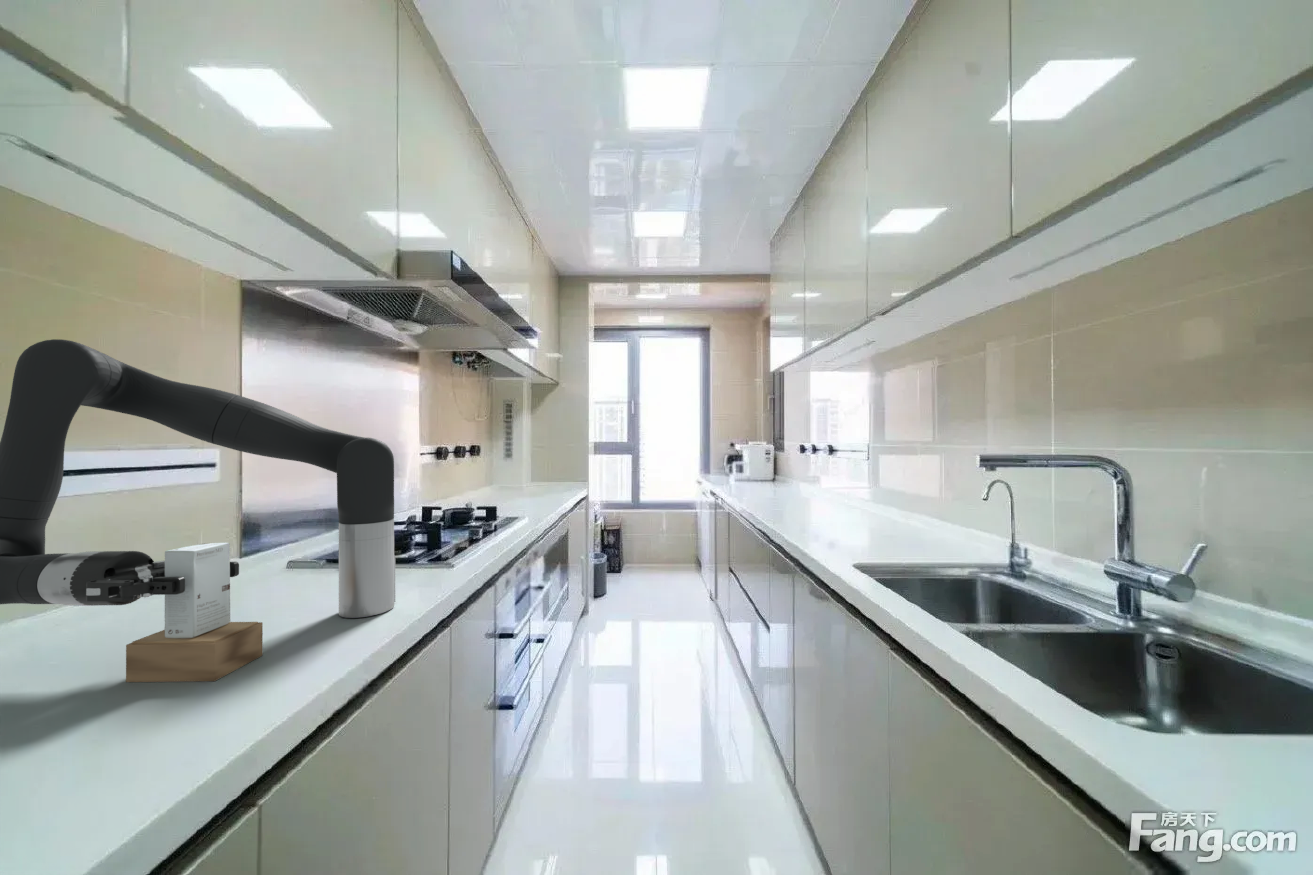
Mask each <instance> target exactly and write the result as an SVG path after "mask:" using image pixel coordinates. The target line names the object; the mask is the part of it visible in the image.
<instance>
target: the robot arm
mask: <svg viewBox="0 0 1313 875" xmlns="http://www.w3.org/2000/svg"><path fill="white" fill-rule="evenodd" d="M12 378H13V379H12V384H11V391H10V398H9V402H8V403H9V404H8V408H7V413H6V417H5V423H4V427H3V431H2V433H1V434H2V435H1V438H0V605H11V604H13V605H16V604H19V605H20V604H25V605H26V604H27V605H28V604H29V605H63V606H73V607H75V606H76V607H77V606H78V607H79V606H80V607H83V606H85V607H86V606H88V607H89V606H90V607H91V606H94V607H95V606H97V607H98V606H123V605H129V604H132V603H134V602H137V601H138V600H140V599H141V598H149V597H152V596H156V595H157V596H162V595H164V596H165V595H176V594H180V593H183V592H184V591H185V579H184V577H165V559H164V560H158V561H157V560H156V561H154V559H153V558H152V557H151V556H150V555H149V554H147V553H145V552H142V551H138V550H115V551H114V550H107V551H106V550H103V551H100V550H99V551H82V552H75V553H73V552H72V553H71V552H70V553H67V552H66V553H65V552H64V553H46V525H47V523H48V521H49V519H50V516H51V514H52V512H53V509H54V507H55V505H56V501H57V499H58V496H59V494H60V492H61V487H62V483H63V478H64V468H65V467H64V463H65V462H64V461H65V446H66V439H67V435H68V432H69V430H70V426H71V423H72V420H73V418H74V417H75V415H76V413H77V412H78V410H79V408H80V407H81V406H82V407H89V408H96V409H100V410H106V411H112V412H115V413H121V414H126V415H131V416H134V417H139V418H143V419H147V420H149V421H153V422H155V423H158V424H160V425H162V426H165V427H168V428H170V429H172V430H174V431H177V432H179V433H181V434H184V435H187V436H190V437H192V438H194V439H197V440H200V441H204V442H206V443H209V444H211V445H212V444H213V445H217V446H220V447H223V448H227V449H231V450H233V451H238V452H242V453H246V454H251V455H256V456H261V457H267V458H272V459H274V458H275V459H278V460H279V459H280V460H287V461H295V462H300V463H305V464H309V465H311V466H315V467H318V468H322V469H324V470H327V471H329V472H333V473H336V491H337V492H336V501H337V502H336V504H337V514H338V616H340V617H342V618H346V619H354V618H365V617H371V616H376V615H380V614H383V613H386V612H388V611H390V610H392V609H393V608H394V607H395V603H396V556H395V459H394V457H395V456H394V453H393V452H392V450H391V448H390V447H389V446H388V444H386V443H385V442H383V441H382V440H379V439H377V438H372V437H363V436H358V435H355V434H354V435H353V434H350V433H346V432H345V433H344V432H341V431H337V430H336V431H335V430H332V429H329V428H326V427H322V426H320V425H317V424H315V423H312V422H310V421H308V420H306V419H304V418H302V417H299V416H297V415H295V414H292V413H289V412H288V411H285V410H283V409H280V408H277V407H274V406H271V405H269V404H267V403H264V402H262V401H258V400H254V399H251V398H248V397H246V396H242V395H238V394H236V393H231V392H228V391H225V390H221V389H215V388H211V387H207V386H201V385H196V384H195V385H194V384H190V383H189V384H188V383H183V382H178V381H173V380H171V379H167V378H163V377H160V376H158V375H156V374H152V373H150V372H148V371H145V370H142V369H139V368H137V367H135V366H132V365H130V364H127V363H125V362H122V361H121V360H117V359H116V358H114V357H112V356H109V355H107V354H106V353H103V352H101V351H99V350H96V349H94V348H92V347H89V346H87V345H85V344H82V343H80V342H77V341H73V340H68V339H59V338H57V339H46V340H45V339H44V340H42V341H38V342H36V343H33V344H32V345H30V346H28V347H27V348H26V349H24V350H23V351H22V353H21V354H20V355H19V357H18V359H17V361H16V365H15V368H14V373H13V377H12ZM239 574H240V564H239V562H238V561H230V578H234V577H237V576H239Z"/></svg>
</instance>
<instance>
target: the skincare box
mask: <svg viewBox="0 0 1313 875" xmlns="http://www.w3.org/2000/svg"><path fill="white" fill-rule="evenodd" d="M230 547H231V546H230V543H229V542H211V543H210V542H207V543H206V542H205V543H199V544H194V545H188V546H187V545H186V546H181V547H179V548H174V549H169V550H165V551H164V560H165V577H184V579H185V591H184V592H183V593H180V594H176V595H164V630H165V637H166V638H193V637H196V636H198V635H201V634H203V633H206V632H209V631H211V630H214V629H216V628H219V627H221V626H224V625H226V624H228V623H229V622H231V577H230V562H231V561H230V560H231V559H230V557H231V552H230V551H231V550H230V549H231V548H230Z"/></svg>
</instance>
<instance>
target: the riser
mask: <svg viewBox="0 0 1313 875" xmlns="http://www.w3.org/2000/svg"><path fill="white" fill-rule="evenodd" d="M262 656H263V622H261V621H260V622H259V621H230V622H229V623H228V624H226V625H224V626H221V627H219V628H216V629H214V630H211V631H209V632H206V633H203V634H201V635H198V636H196V637H193V638H166V637H165V629H162V630H159V631H158V632H155V633H151V634H149V635H147V636H144V637H142V638H139V639H135V640H134V641H132V642H130V643H128V644H126V645H125V683H151V682H152V683H154V682H156V683H159V682H161V683H163V682H164V683H165V682H168V683H170V682H171V683H172V682H173V683H174V682H216V681H217V680H219V679H222V678H224V677H225V676H227V675H228V674H229V675H230V674H231V673H232V672H234V671H237V670H238V669H240V668H242V667H244V666H245V665H248V664H249V663H251V662H253V661H255V660H257V659H258V658H260V657H262Z"/></svg>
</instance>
